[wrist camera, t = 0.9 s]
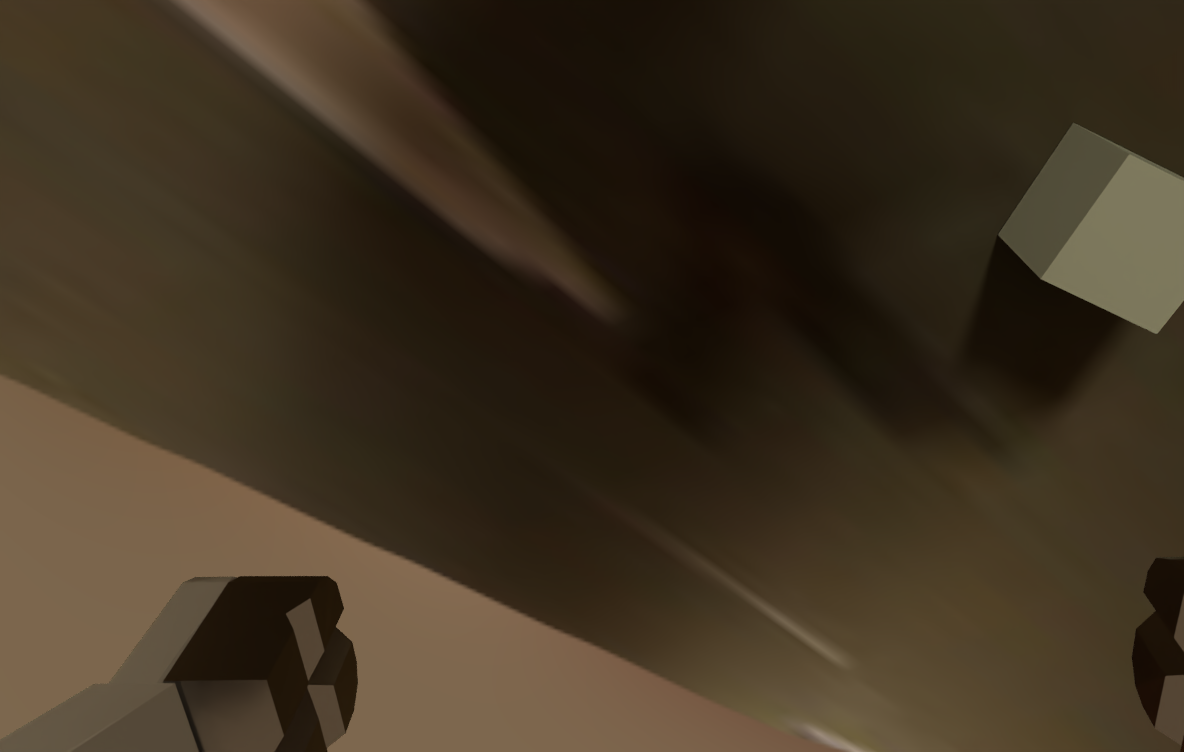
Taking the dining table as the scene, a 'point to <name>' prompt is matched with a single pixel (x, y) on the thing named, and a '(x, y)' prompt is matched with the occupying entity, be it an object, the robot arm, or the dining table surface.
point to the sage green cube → (1105, 229)
